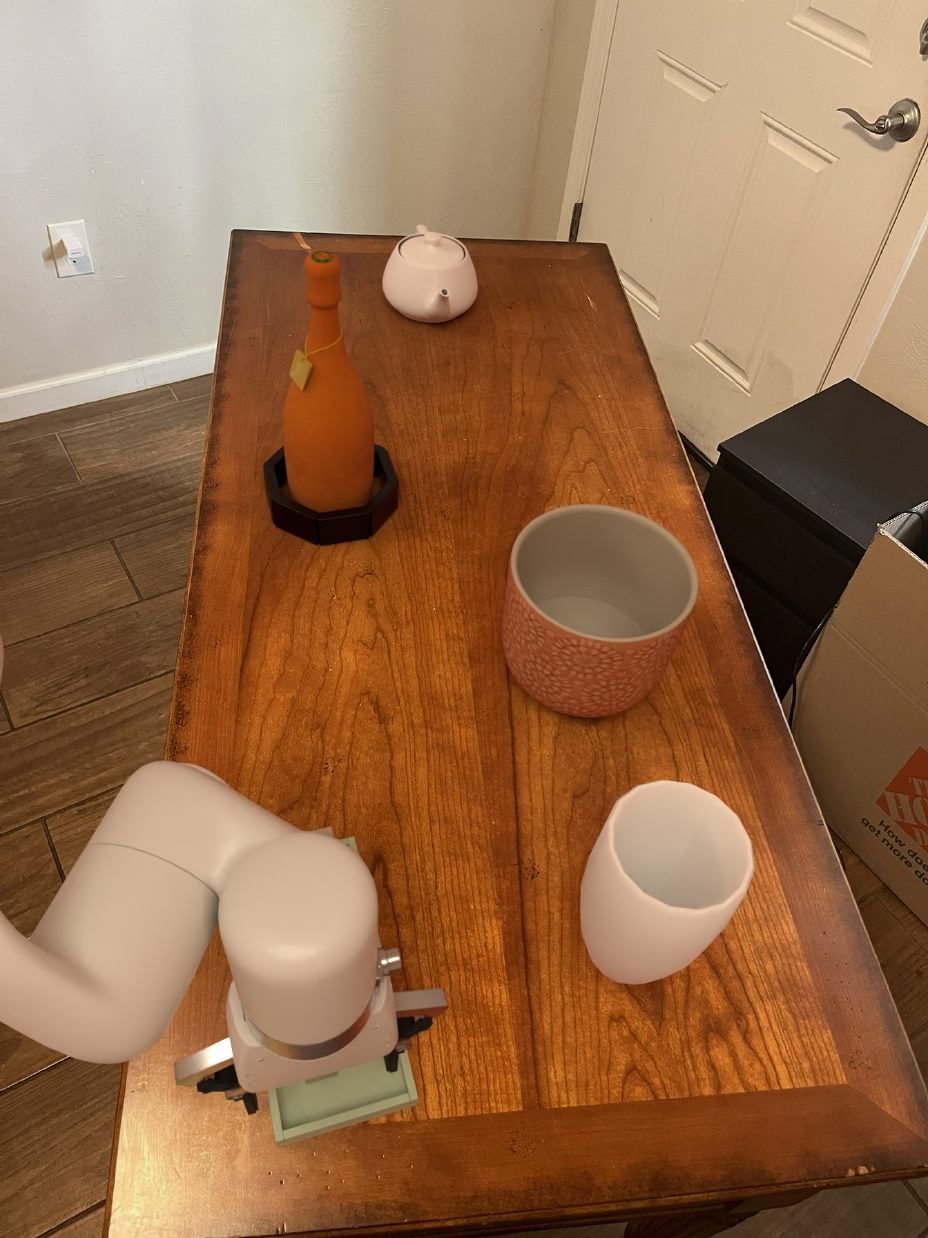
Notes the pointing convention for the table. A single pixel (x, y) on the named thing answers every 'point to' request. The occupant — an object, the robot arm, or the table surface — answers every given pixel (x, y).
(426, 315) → the teapot
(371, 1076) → the tray
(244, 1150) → the table surface
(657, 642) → the planter
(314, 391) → the wine bottle
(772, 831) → the table surface
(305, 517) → the bottle stand
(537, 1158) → the table surface
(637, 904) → the cup
